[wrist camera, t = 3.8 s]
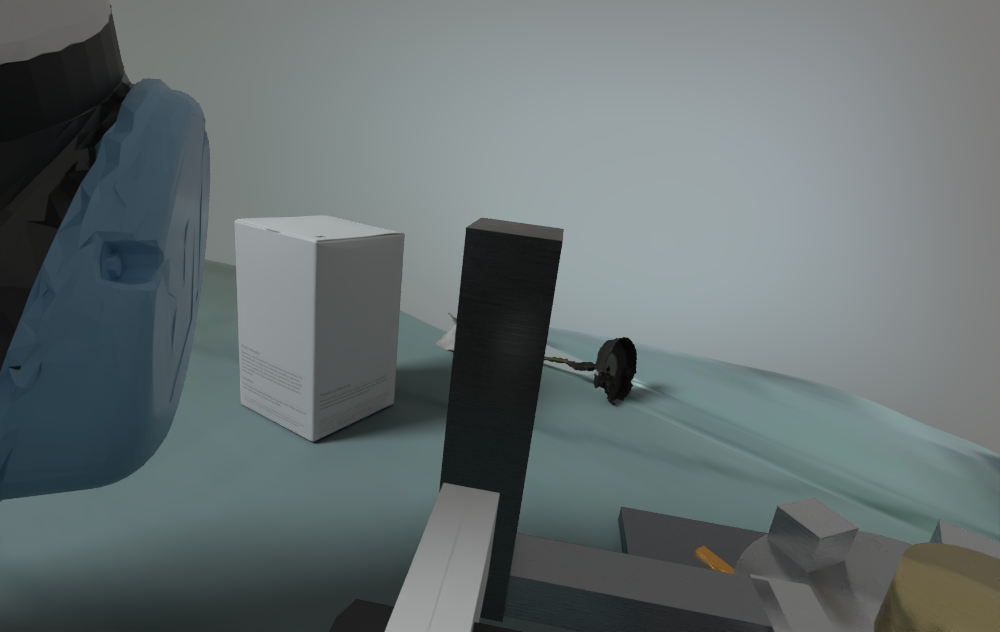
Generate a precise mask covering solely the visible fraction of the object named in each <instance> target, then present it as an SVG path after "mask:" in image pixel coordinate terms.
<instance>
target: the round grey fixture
mask: <svg viewBox="0 0 1000 632" xmlns="http://www.w3.org/2000/svg"><path fill="white" fill-rule="evenodd" d="M562 241H563V229H560V228H552V227H545V226H538V225H531V224H524V223H516V222H509V221H501V220H495V219H488V218H480V219H479V220H477V221H476V222H474V223H473V224H471V225H469V226H468V227H467V228H466V237H465V246H464V256H463V266H462V275H461V285H460V295H459V305H458V314H457V324H456V334H455V343H454V353H453V363H452V373H451V383H450V392H449V402H448V412H447V422H446V431H445V441H444V451H443V461H442V471H441V480H440V490H441V488H442V485H443V483H448V484H453V485H458V486H464V487H469V488H475V489H480V490H485V491H491V492H496V493H500V495H499V502H498V509H497V516H496V523H495V530H494V537H493V544H492V551H491V558H490V565H489V572H488V579H487V584H486V589H485V594H484V599H483V604H482V609H481V614H480V617H481V618H486V619H490V620H495V621H500V622H503V616H508V617H513V618H518V619H522V620H527V621H532V622H537V623H542V624H547V625H552V626H557V627H562V628H567V629H572V630H576V631H581V632H874V622H875V618H876V616H877V614H878V611H879V609H880V607H881V604H882V602H883V600H884V597H885V595H886V593H887V590H888V588H889V586H890V583H891V581H892V579H893V576H894V574H895V571H896V569H897V567H898V564H899V562H900V560H901V557H902V555H903V553H904V552H905V550H906V549H908V548H909V547H911V546H913V545H911V544H908V543H905V542H902V541H898V540H895V539H891V538H888V537H884V536H881V535H876V534H871V533H867V532H862V531H858V529H859V528H858V527H857V526H855V525H854V524H852V523H851V522H849V521H848V520H846V519H845V518H843V517H842V516H840V515H839V514H838V513H836V512H835V511H833V510H832V509H830V508H829V507H827V506H826V505H824V504H823V503H821V502H820V501H819V500H817V499H816V498H811V499H807V500H802V501H797V502H793V503H788V504H784V505H779V506H777V509H776V512H775V515H774V518H773V521H772V524H771V527H770V530H769V533H768V534H766V535H765V536H763V537H761V538H759V539H758V540H756V541H754V542H753V543H752V544H751V545H750V546H749V547H748V548H747V549H745V550H744V552H743V553H742V555H741V556H740V558H739V560H738V561H737V563H736V566H735V569H734V572H733V574H730V573H725V572H719V571H714V570H709V569H704V568H698V567H693V566H688V565H682V564H677V563H672V562H667V561H661V560H656V559H651V558H646V557H640V556H635V555H630V554H624V553H619V552H614V551H609V550H603V549H598V548H593V547H587V546H582V545H577V544H572V543H566V542H561V541H556V540H551V539H545V538H540V537H535V536H529V535H524V534H519V533H517V527H518V520H519V514H520V508H521V501H522V495H523V489H524V482H525V476H526V470H527V463H528V457H529V451H530V444H531V438H532V431H533V425H534V419H535V412H536V406H537V400H538V393H539V387H540V381H541V374H542V368H543V362H544V355H545V349H546V343H547V336H548V330H549V324H550V317H551V311H552V305H553V298H554V292H555V286H556V279H557V273H558V267H559V260H560V254H561V248H562ZM440 490H439V493H440ZM929 543H942V544H949V545H955V546H959V547H964V548H967V549H971V550H975V551H978V552H981V553H984V554H987V555H990V556H993V557H995V558H998V559H1000V543H998V542H996V541H993V540H991V539H988V538H986V537H983V536H980V535H978V534H975V533H973V532H970V531H967V530H965V529H962V528H960V527H957V526H955V525H952V524H949V523H947V522H944V521H942V520H939V522H938V524H937V526H936V529H935V531H934V533H933V535H932V538H931V540H930V542H929Z"/></svg>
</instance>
